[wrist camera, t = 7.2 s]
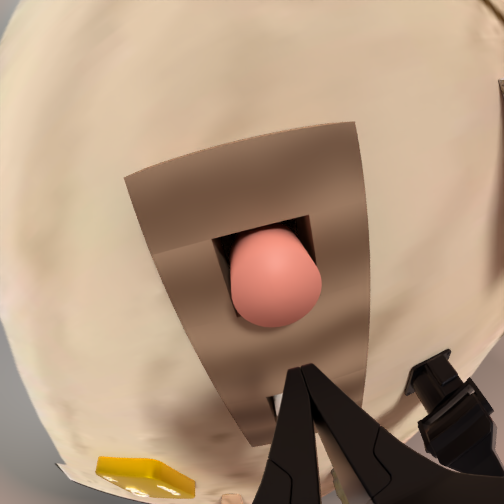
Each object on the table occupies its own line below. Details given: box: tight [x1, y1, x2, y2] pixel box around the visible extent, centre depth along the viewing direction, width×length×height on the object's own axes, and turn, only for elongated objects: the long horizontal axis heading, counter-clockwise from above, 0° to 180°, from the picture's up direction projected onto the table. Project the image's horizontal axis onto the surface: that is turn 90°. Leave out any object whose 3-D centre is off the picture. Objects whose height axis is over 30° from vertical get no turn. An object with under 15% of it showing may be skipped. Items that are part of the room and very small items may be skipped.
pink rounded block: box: [230, 222, 322, 327], centre depth 15 cm, size 4×4×4 cm
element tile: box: [95, 456, 195, 499], centre depth 34 cm, size 15×15×5 cm
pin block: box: [124, 122, 370, 447], centre depth 20 cm, size 28×12×4 cm, turn 14°
